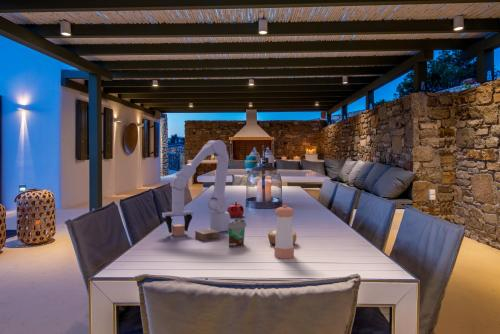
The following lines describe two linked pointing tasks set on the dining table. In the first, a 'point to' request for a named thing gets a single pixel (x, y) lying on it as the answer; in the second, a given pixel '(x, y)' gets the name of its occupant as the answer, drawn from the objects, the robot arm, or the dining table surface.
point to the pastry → (273, 234)
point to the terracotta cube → (178, 230)
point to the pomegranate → (235, 210)
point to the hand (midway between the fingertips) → (178, 231)
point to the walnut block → (207, 234)
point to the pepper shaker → (284, 233)
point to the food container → (236, 233)
